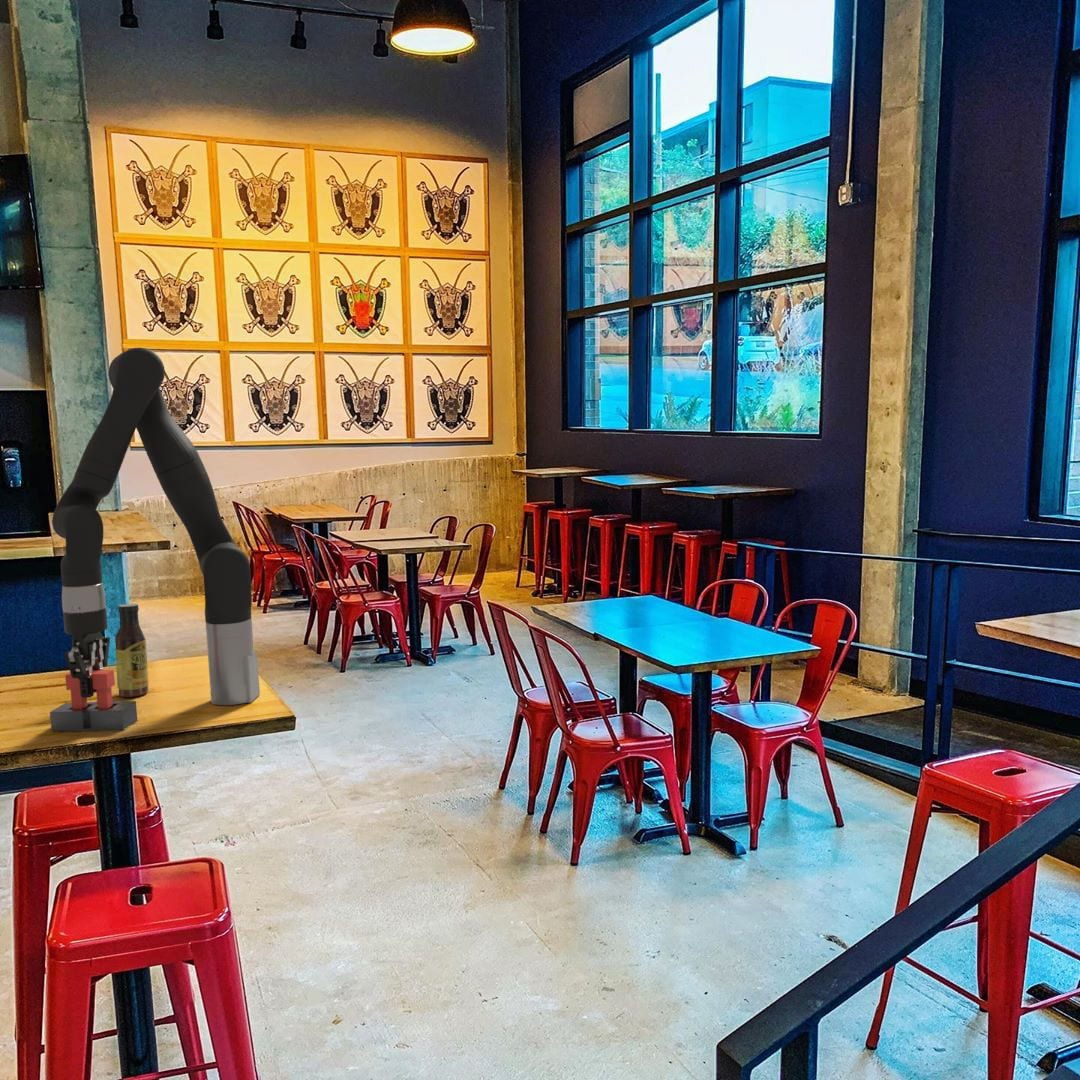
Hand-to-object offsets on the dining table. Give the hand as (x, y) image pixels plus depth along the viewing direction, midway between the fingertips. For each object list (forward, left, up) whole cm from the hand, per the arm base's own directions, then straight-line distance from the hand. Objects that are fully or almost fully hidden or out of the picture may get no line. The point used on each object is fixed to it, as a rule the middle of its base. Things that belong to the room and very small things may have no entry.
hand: (92, 694), depth 184 cm
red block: (0, 0, -3) cm, 3 cm away
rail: (0, 0, -7) cm, 7 cm away
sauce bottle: (+2, -22, -7) cm, 23 cm away
